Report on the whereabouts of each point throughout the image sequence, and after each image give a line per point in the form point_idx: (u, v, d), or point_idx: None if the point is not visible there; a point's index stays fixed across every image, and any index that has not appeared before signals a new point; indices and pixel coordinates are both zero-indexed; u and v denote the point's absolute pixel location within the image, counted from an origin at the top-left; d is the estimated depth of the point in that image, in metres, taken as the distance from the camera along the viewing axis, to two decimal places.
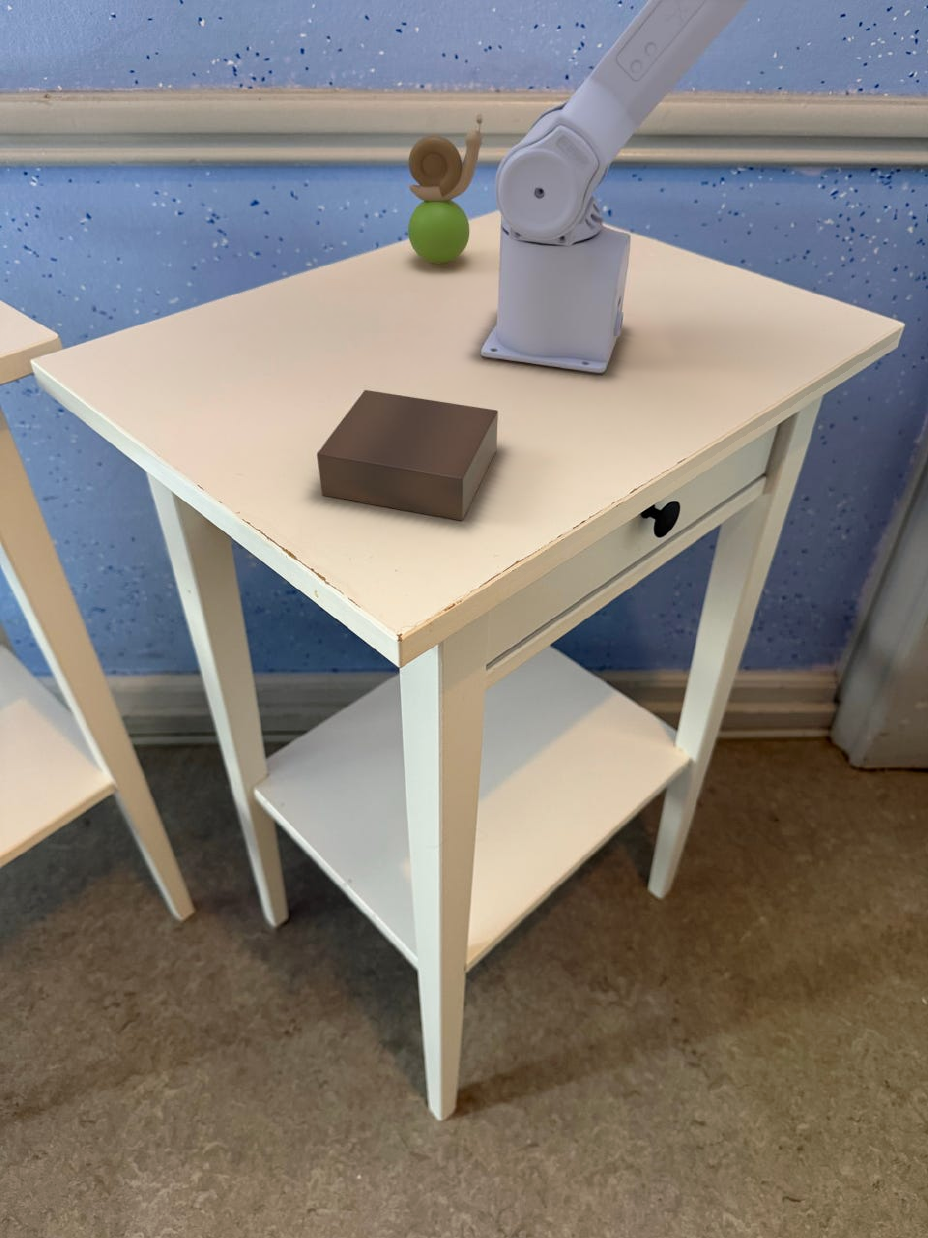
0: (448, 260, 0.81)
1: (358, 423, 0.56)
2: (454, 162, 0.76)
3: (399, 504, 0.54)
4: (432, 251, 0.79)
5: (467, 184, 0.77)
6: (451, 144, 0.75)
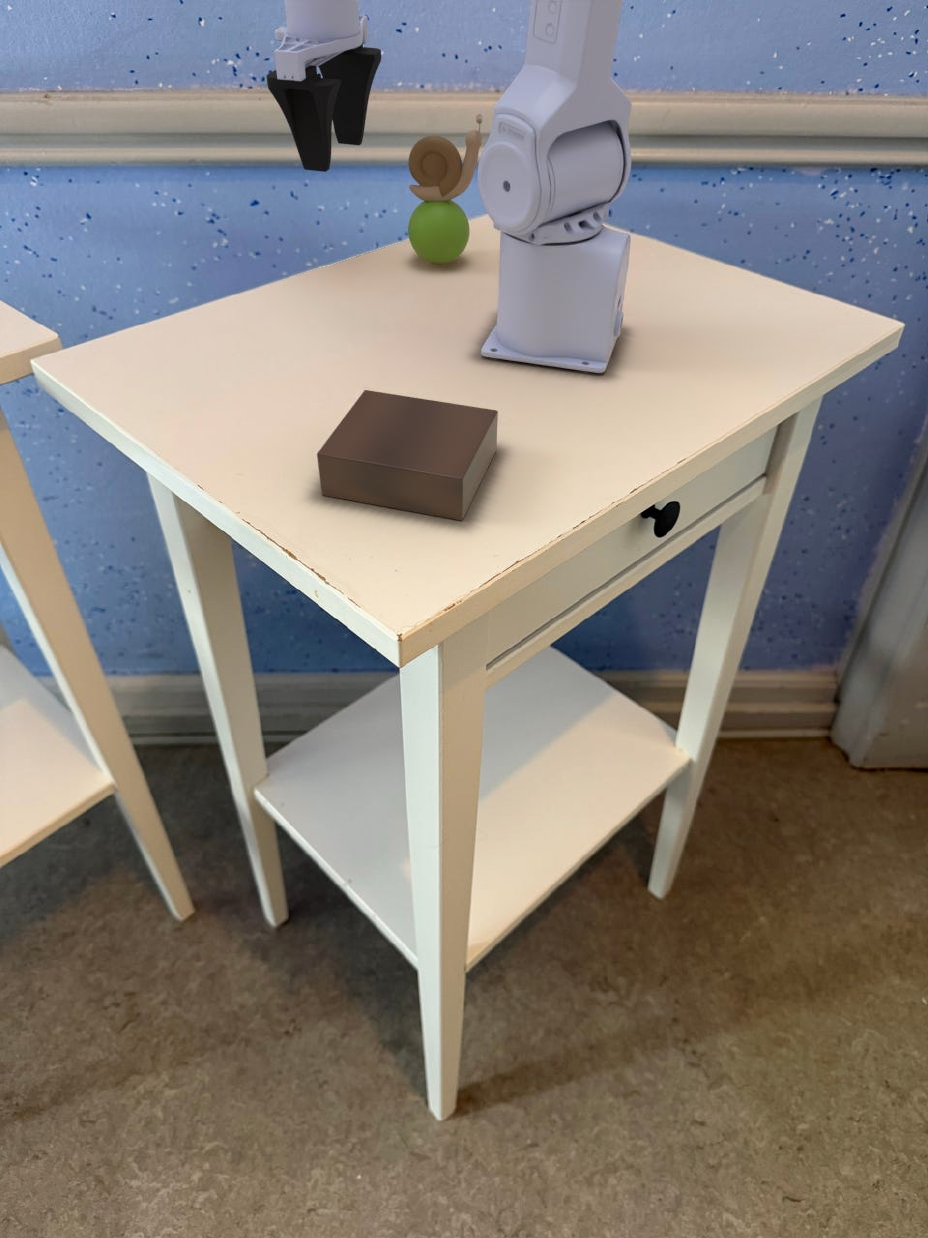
0: (448, 260, 0.81)
1: (358, 423, 0.56)
2: (454, 162, 0.76)
3: (399, 504, 0.54)
4: (432, 251, 0.79)
5: (467, 184, 0.77)
6: (451, 144, 0.75)
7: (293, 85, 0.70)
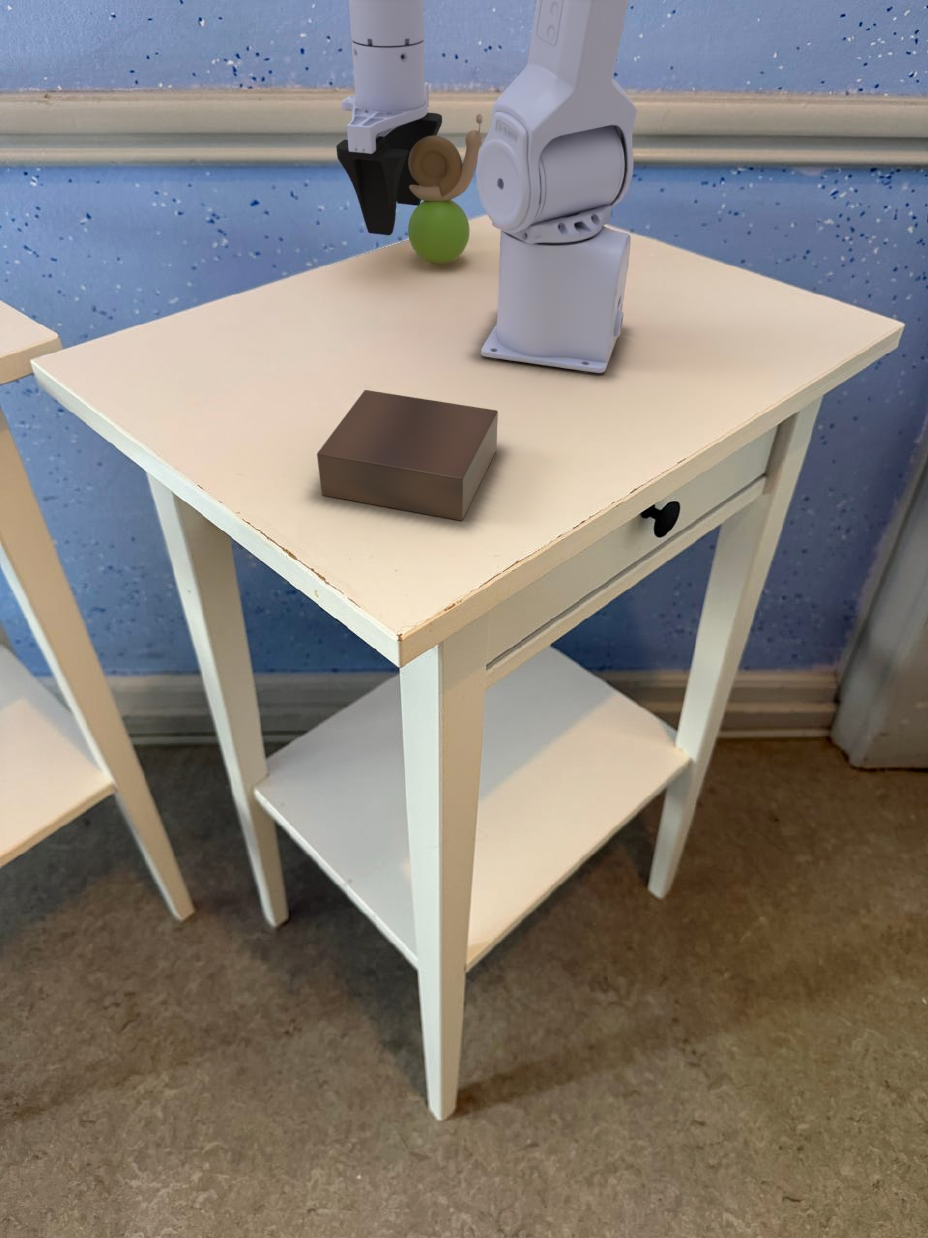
0: (448, 260, 0.81)
1: (358, 423, 0.56)
2: (454, 162, 0.76)
3: (399, 504, 0.54)
4: (432, 251, 0.79)
5: (467, 184, 0.77)
6: (451, 144, 0.75)
7: (363, 156, 0.72)
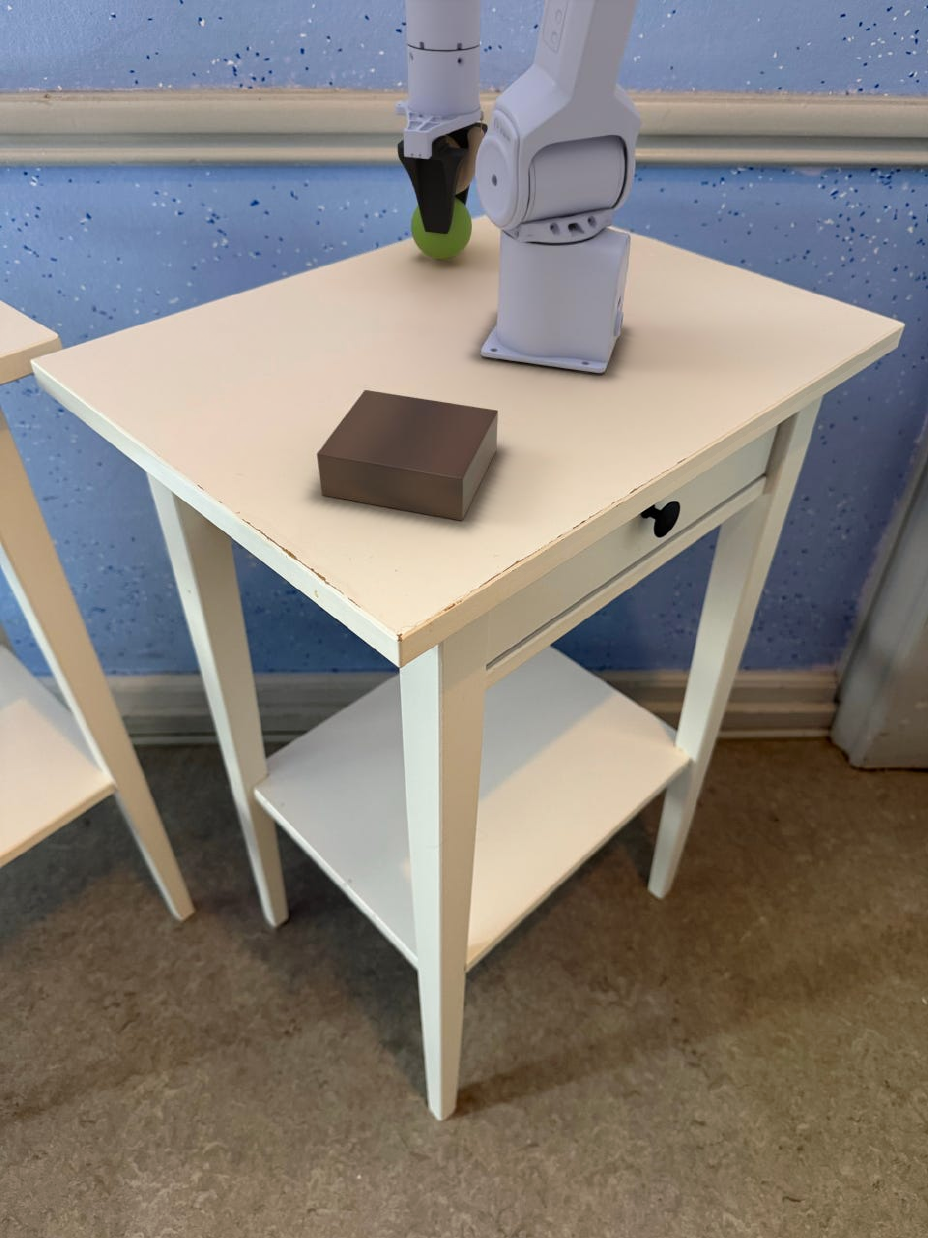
0: (451, 256, 0.82)
1: (358, 423, 0.56)
2: None
3: (399, 504, 0.54)
4: (435, 247, 0.80)
5: (469, 180, 0.78)
6: (453, 141, 0.76)
7: None
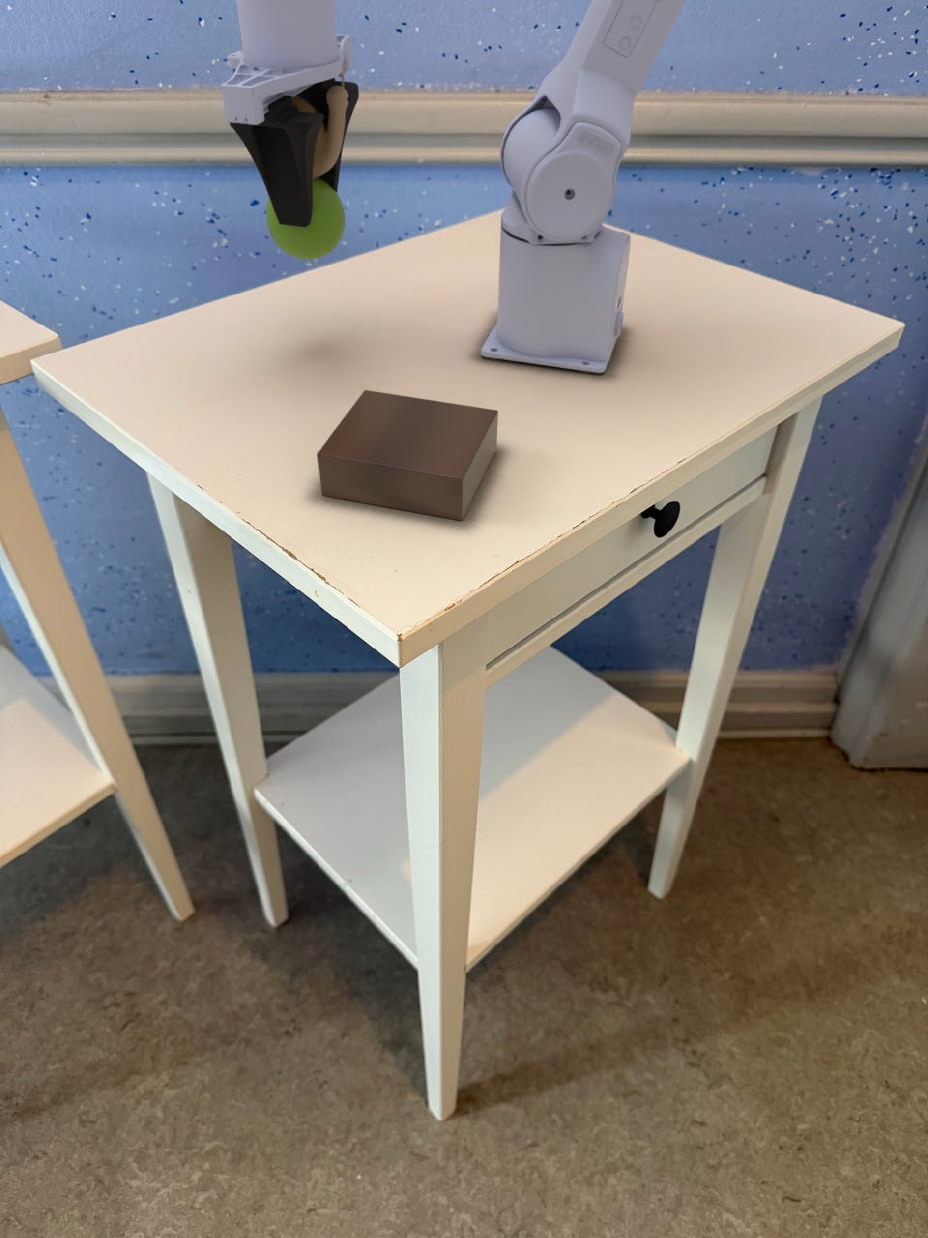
0: (319, 256, 0.64)
1: (358, 423, 0.56)
2: None
3: (399, 504, 0.54)
4: (294, 245, 0.62)
5: (334, 157, 0.60)
6: (308, 105, 0.58)
7: (261, 121, 0.54)
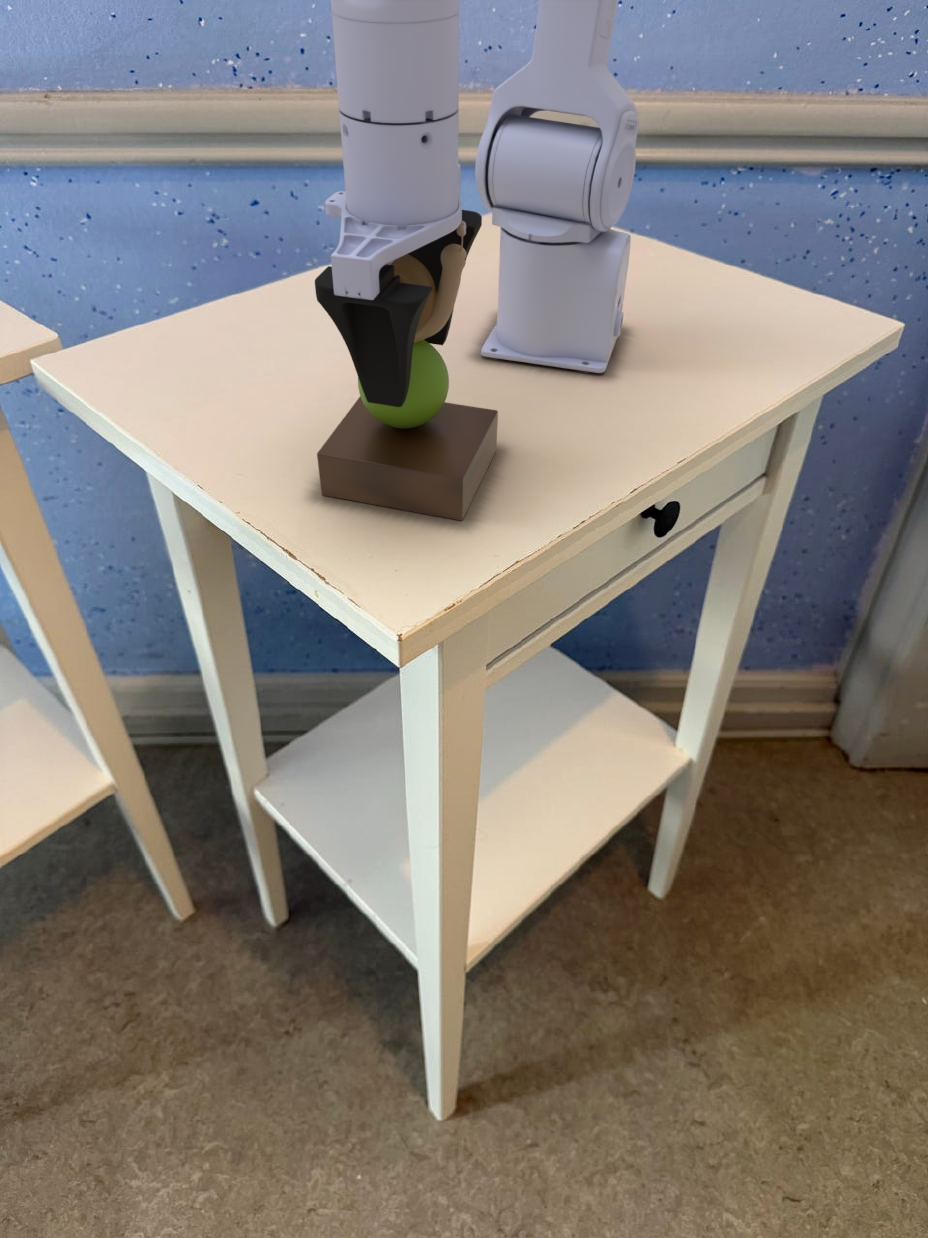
0: (418, 425, 0.55)
1: (358, 423, 0.56)
2: None
3: (399, 504, 0.54)
4: (392, 416, 0.53)
5: (444, 321, 0.51)
6: (419, 264, 0.49)
7: (358, 300, 0.44)
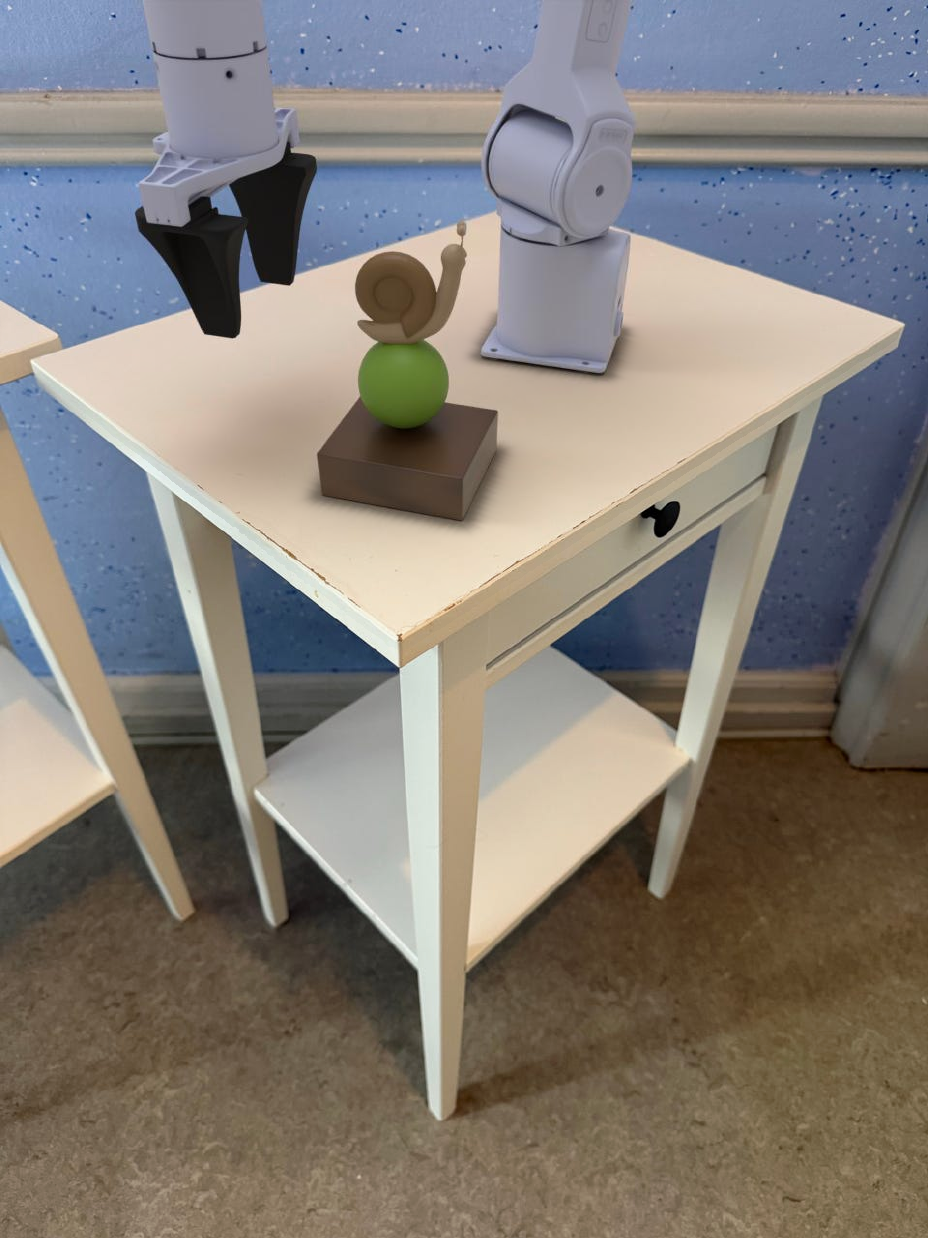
0: (418, 425, 0.55)
1: (358, 423, 0.56)
2: (424, 291, 0.50)
3: (399, 504, 0.54)
4: (392, 416, 0.53)
5: (444, 321, 0.51)
6: (419, 265, 0.49)
7: (174, 229, 0.46)
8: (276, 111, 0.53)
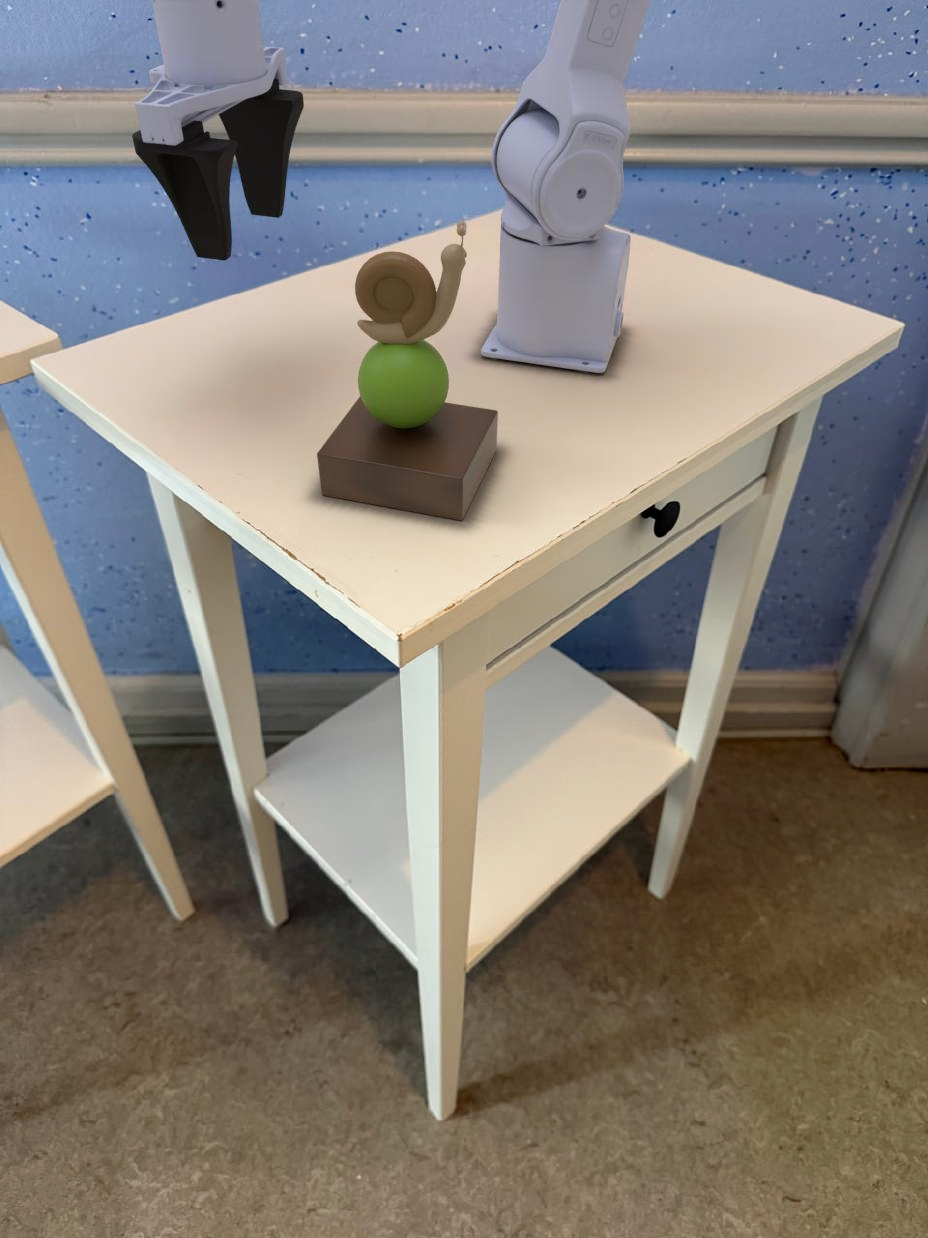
0: (418, 425, 0.55)
1: (358, 423, 0.56)
2: (424, 291, 0.50)
3: (399, 504, 0.54)
4: (392, 416, 0.53)
5: (444, 321, 0.51)
6: (419, 265, 0.49)
7: (168, 149, 0.50)
8: (265, 49, 0.57)
